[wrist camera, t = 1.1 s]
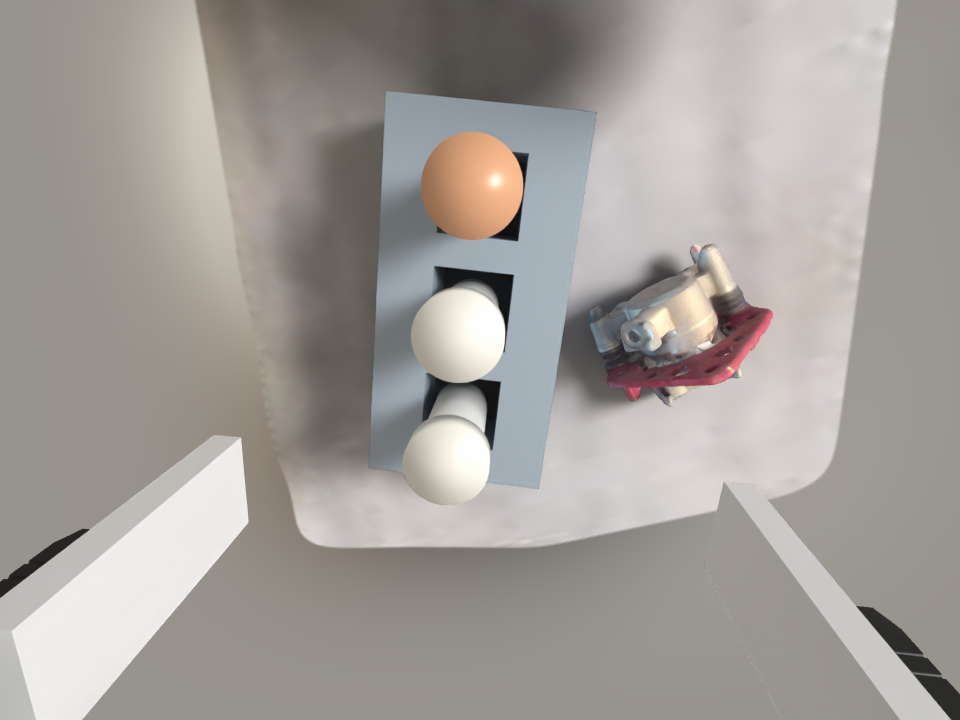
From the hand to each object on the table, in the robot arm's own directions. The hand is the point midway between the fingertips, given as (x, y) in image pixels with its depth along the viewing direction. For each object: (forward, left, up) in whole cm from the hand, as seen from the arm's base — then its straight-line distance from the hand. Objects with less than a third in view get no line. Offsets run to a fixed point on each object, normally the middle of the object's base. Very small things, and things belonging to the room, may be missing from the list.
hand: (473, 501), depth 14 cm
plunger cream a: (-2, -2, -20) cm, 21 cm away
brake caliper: (-1, +13, -27) cm, 29 cm away
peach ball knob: (-9, -2, -20) cm, 22 cm away
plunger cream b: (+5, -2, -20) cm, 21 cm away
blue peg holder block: (-2, -2, -26) cm, 26 cm away
